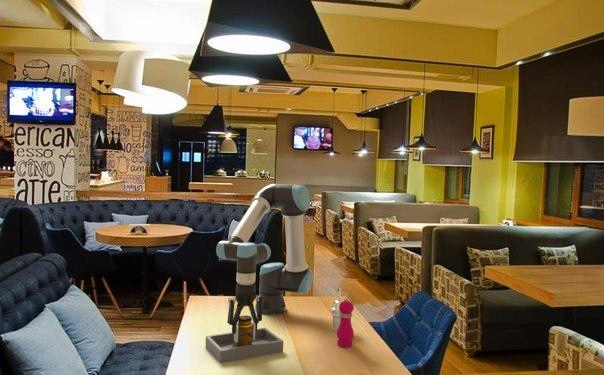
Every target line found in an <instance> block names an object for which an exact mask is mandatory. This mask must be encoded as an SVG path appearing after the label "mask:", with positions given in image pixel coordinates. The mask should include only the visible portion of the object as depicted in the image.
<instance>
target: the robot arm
mask: <svg viewBox="0 0 604 375" xmlns="http://www.w3.org/2000/svg"><path fill="white" fill-rule="evenodd" d="M310 203H311V197H310V192H309V190H308V188H307V187H306V186H304V185H299V184H291V183H290V184H287V183H286V184H285V183H271V184H269V185H266V186H265V187H263V188H261V189H260V190H258V192H257V193H256V194H255V195H254V196H253V197H252V199H251V202H250V204H251V205H250V206H249V207H248V209H247V210H246V212H245V213H244V215H243V216H242V217H241V219H240V220H239V223H238V224H237V225H236V227H235V228H234V230H233V232H232V233H231V234H230V236H229V238H227V240H221V241H219V242H218V243H217V245H216V249H215V251H216V256H217V257H218V258H219V259H222V260H226V261H228V260H230V261H236V279H235V280H236V282H237V283H236V284H235V286H236V287H235V296H234V297H233V298H228V313H227V319H226V320H227V321H226V322H227V324H228V325H230V326H231V332H232V333H233V334H234V341H235V342H236V343H237V342H238V327H239V326H238V325H237V324H238V320H239V317H240V316H241V314H242V310H243V309H244V308H245V307H248V309H249V313H250V317H251V318H252V326H253V328H252V339H253V340H255V331H257V329H258V324H259V323H260V322H261V321H263V314H264V315H279V314H282V313H285V312H287V311H286V310H287V308H286V307H287V304H286V301H285V298H284V294H283V293H284V292H286V293H293V294H298V295H300V294H301V295H306V294H308V292H309V291H310V290H311V288H312V286H313V280H314V272H313V270H311V269H309V264H308V263H307V262H306V253H305V251H306V250H305V234H304V215H305V214H306V213H307V211H308V210H309V208H310V206H311V205H310ZM272 209H278V210H279V209H280V213H281V214H280V215H281V216H282V217H283V218H284V227H285V228H284V229H285V245H286V262H287V263H286V264H285V265H284V263H282V262H269V263H265V264H263V265H261V266H260V270H259V288H258V289H259V294H258V295H257V294H256V280H257V279H256V278H257V274H256V273H257V265H258V264H261V263H264V262H266V261H268V260H269V259H270V257H271V254H272V250H271V248H270V246H269V245H268V244H267V243H262V242H261V243H257V244H256V243H255V242H248V241H249V240H250V238H251V237H252V235H253V233H254V232H255V230H256V229H257V227H258V225H259V224H260V223H261V221H262V219H263V218H264V216H265V214H268V213H269V212H270V211H271V210H272ZM236 302H237V304H236ZM254 302H255V306H254ZM235 304H236V309H235Z"/></svg>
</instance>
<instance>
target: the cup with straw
mask: <svg viewBox="0 0 604 375" xmlns="http://www.w3.org/2000/svg"><path fill="white" fill-rule="evenodd" d="M337 291H339V292H338V299H336V300H334V301H333V302H332V303H331V305H330V307H329V310H330V311H331V315H332V327H333V331H334V332H336V333H337V329H338V327H339V325H340V322H341V316H340V312H341V311H340V310H339V305H340V303H341V302H342V301H344V300H343V299H341V296H342V295H341V292H342V290H341V288H340V287H339V288H338V289H337Z"/></svg>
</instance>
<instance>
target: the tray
mask: <svg viewBox="0 0 604 375" xmlns="http://www.w3.org/2000/svg"><path fill="white" fill-rule="evenodd" d="M234 344H237V343H236V342H235V341H234V334H233V333H232V331H231V332H227V333H219V334H218V333H217V334H212V335H210V334H209V335H205V348H206V349H207V350H208V352H209V353H210V354H211V355H212V356H213V357H214V358H215V359H216V360H217V362H219V364H221V363H227V362H233V361H239V360H246V359H251V358H257V357H263V356H268V355H270V356H271V355H275V354H281V353H284V340H282V339H281V338H280V337H279V336H277V335H276V334H274V333H273V332H272V331H271V330H269V329H268V328H267V327H260V328H257V331H255V340H253V339H252V345H247V346H241V347H234V348H231V347H230V346H229V345H234Z"/></svg>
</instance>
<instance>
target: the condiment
mask: <svg viewBox="0 0 604 375" xmlns="http://www.w3.org/2000/svg"><path fill="white" fill-rule="evenodd" d="M252 322H253V319H252V316H251V315H245V314H244V315H240V317H239V320H238V322H237V325H238V326H239V327H238V342H237V344H234V345H229V346H230V347H231V348H234V347H241V346H247V345H252V328H253V326H252Z"/></svg>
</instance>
